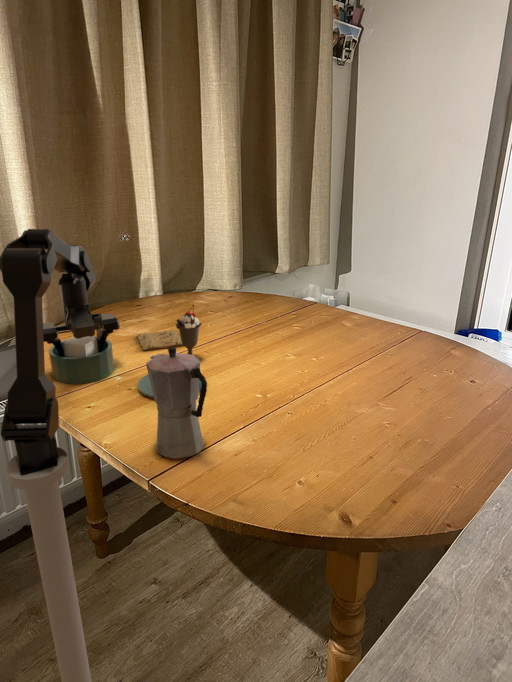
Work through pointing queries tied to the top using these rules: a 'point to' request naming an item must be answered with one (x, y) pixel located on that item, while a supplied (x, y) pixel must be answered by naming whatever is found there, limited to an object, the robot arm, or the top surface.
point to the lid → (146, 388)
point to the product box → (80, 347)
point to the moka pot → (177, 402)
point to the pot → (82, 366)
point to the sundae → (189, 330)
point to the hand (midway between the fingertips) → (82, 359)
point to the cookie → (159, 339)
